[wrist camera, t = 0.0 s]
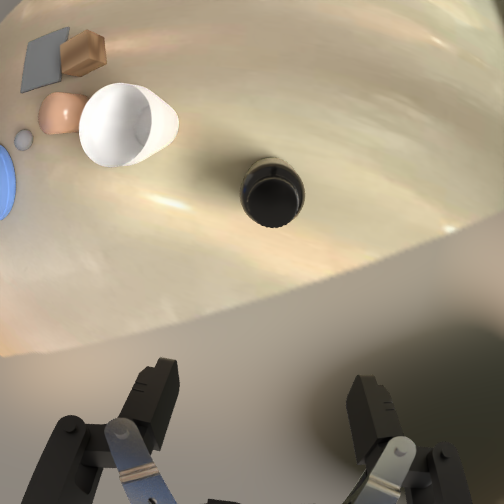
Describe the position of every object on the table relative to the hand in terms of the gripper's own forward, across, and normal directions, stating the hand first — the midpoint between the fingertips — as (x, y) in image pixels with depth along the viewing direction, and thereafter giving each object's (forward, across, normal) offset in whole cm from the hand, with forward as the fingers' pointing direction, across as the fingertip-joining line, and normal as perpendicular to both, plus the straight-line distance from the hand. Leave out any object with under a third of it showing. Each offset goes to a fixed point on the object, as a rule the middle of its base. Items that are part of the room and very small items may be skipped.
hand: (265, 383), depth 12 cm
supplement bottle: (+30, 0, -4) cm, 30 cm away
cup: (+30, +16, -11) cm, 35 cm away
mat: (+29, +39, -25) cm, 55 cm away
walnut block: (+29, +28, -23) cm, 47 cm away
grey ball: (+29, +41, -11) cm, 52 cm away
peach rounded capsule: (+29, +30, -14) cm, 44 cm away
